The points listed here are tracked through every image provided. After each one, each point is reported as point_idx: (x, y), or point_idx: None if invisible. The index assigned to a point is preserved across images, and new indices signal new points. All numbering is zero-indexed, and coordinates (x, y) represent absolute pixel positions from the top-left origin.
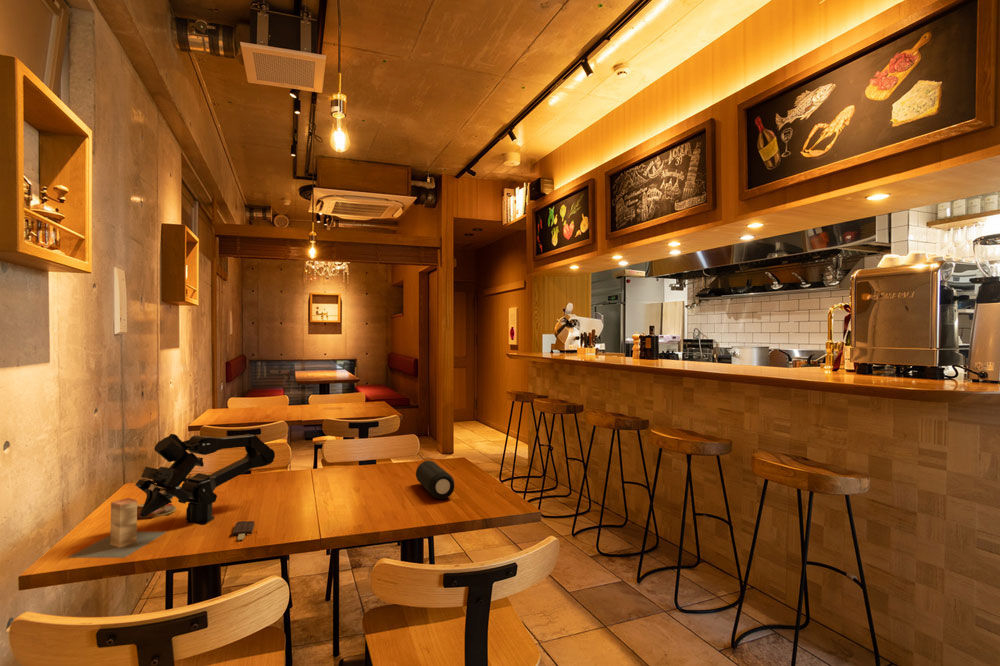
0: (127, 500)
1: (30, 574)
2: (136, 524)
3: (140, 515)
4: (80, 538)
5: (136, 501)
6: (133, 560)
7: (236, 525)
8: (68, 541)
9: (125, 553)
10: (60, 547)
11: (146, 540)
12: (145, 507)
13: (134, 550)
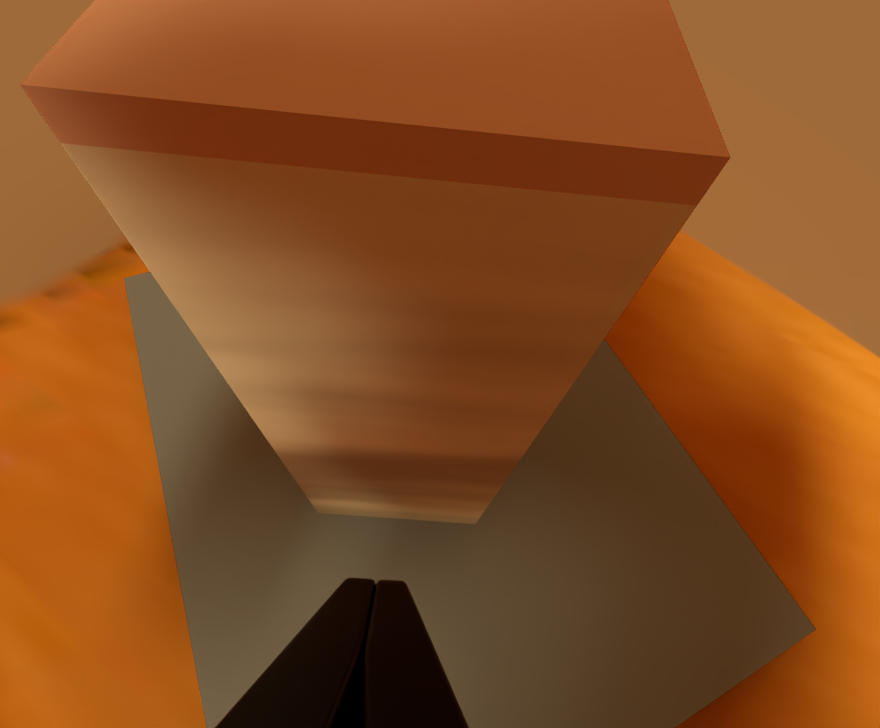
0: (388, 7)
1: None
2: (276, 449)
3: (368, 579)
4: (870, 413)
5: (68, 116)
6: (54, 302)
7: None
8: (850, 348)
9: (183, 321)
10: (749, 275)
11: (258, 592)
12: (317, 716)
13: (160, 381)
